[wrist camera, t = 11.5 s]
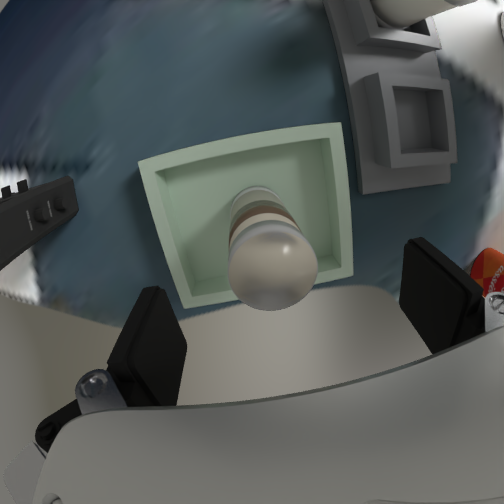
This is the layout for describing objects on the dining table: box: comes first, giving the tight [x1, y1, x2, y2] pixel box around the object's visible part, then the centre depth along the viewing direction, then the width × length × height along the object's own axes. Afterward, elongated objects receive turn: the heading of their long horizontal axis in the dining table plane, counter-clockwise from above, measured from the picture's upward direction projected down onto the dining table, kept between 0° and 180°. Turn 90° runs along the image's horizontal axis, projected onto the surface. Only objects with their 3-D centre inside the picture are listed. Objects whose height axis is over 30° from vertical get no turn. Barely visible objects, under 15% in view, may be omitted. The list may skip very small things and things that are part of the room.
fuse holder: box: [322, 0, 457, 195], centre depth 16 cm, size 10×22×4 cm, turn 11°
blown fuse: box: [228, 186, 318, 311], centre depth 17 cm, size 4×4×10 cm
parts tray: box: [138, 122, 353, 309], centre depth 21 cm, size 14×12×3 cm
